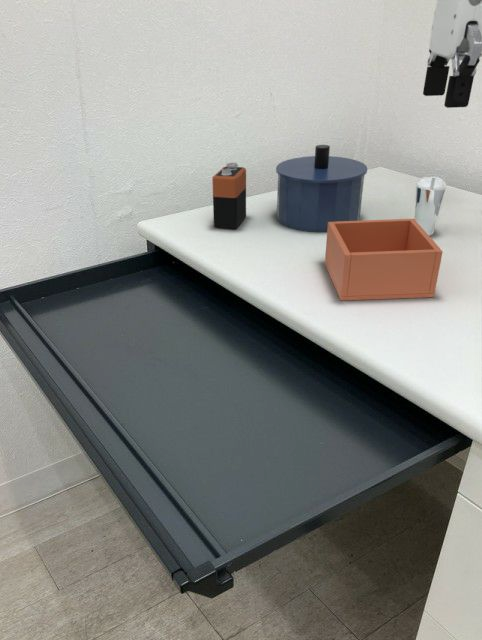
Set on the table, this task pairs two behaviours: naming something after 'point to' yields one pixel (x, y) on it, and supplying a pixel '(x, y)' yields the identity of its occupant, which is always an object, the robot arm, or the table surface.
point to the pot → (318, 203)
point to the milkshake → (428, 202)
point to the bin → (381, 259)
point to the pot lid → (321, 168)
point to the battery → (229, 196)
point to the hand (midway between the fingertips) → (444, 100)
